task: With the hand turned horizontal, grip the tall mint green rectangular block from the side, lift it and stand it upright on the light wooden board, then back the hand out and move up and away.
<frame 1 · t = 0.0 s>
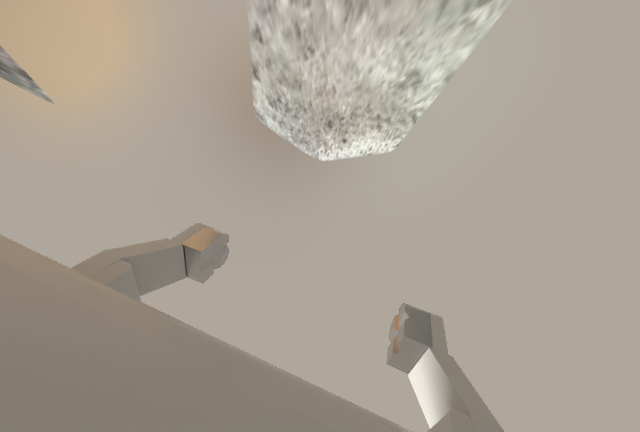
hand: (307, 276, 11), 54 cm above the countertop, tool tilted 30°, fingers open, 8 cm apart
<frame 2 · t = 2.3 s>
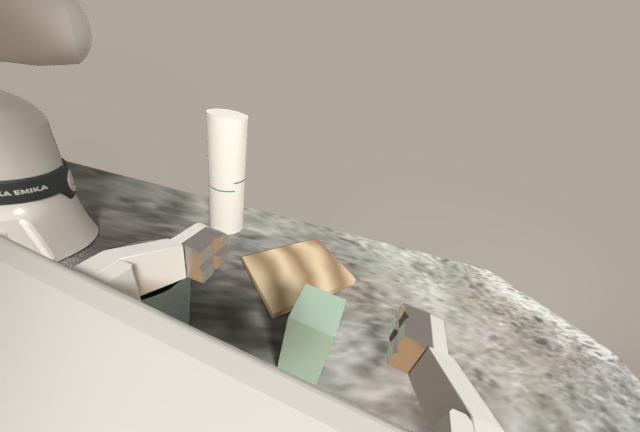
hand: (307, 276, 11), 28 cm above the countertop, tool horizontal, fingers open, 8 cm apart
teal plant pot: (158, 328, 35), on the countertop
mint green rectangular block: (302, 361, 35), on the countertop
cylindrical container: (226, 226, 58), on the countertop
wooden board: (298, 273, 50), on the countertop
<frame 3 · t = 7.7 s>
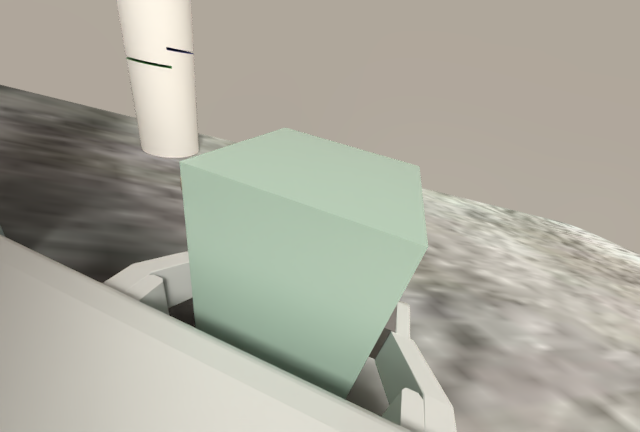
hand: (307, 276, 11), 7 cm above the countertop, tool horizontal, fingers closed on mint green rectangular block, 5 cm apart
mint green rectangular block: (281, 372, 13), on the countertop, touching gripper
cylindrical container: (171, 150, 36), on the countertop
when the fingers open (9 cm above the countertop, at t = 14.2 s): mint green rectangular block drops 1 cm, resting on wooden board.
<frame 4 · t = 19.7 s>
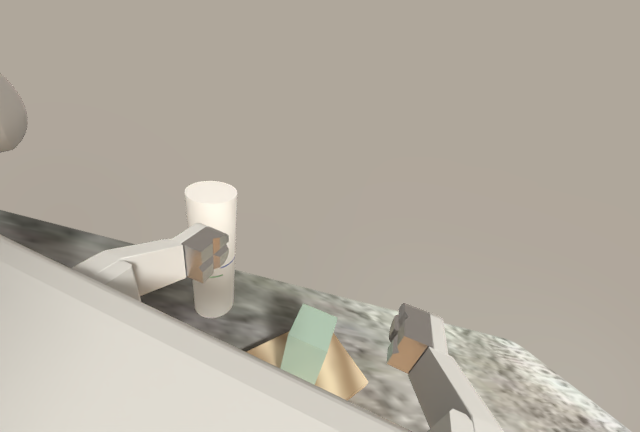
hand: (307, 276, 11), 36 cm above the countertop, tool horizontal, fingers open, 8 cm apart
mint green rectangular block: (300, 370, 40), point 1 cm above the countertop, touching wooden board
cylindrical container: (214, 303, 49), on the countertop
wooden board: (299, 375, 41), on the countertop
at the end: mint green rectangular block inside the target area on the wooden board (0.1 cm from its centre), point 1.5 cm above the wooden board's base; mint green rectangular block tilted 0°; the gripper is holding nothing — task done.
